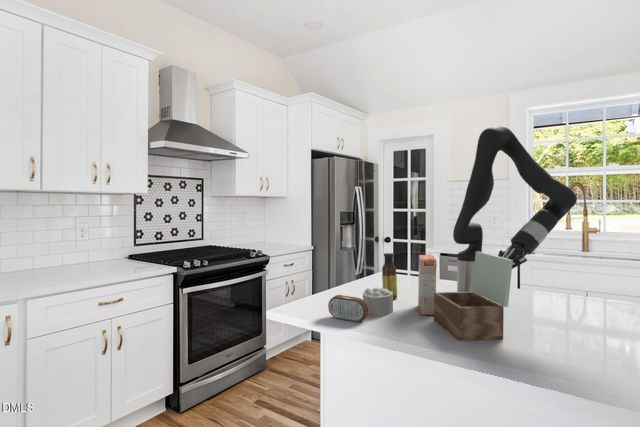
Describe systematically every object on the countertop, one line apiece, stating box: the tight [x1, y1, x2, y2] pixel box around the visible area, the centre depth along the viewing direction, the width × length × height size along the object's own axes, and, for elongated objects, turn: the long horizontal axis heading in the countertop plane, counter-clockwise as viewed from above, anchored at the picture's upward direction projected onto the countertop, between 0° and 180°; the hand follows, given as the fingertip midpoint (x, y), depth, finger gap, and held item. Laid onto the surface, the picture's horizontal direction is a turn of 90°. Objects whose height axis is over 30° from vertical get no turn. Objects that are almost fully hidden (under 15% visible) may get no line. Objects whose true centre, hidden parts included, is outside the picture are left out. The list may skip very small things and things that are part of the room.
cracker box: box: [417, 254, 437, 316], centre depth 149 cm, size 14×6×21 cm, turn 168°
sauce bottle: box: [381, 252, 398, 300], centre depth 168 cm, size 6×6×20 cm
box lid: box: [472, 251, 513, 308], centre depth 127 cm, size 14×21×2 cm
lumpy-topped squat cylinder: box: [362, 287, 394, 318], centre depth 148 cm, size 10×13×9 cm
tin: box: [327, 294, 368, 323], centre depth 138 cm, size 15×3×8 cm, turn 59°
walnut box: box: [433, 291, 505, 342], centre depth 127 cm, size 14×20×10 cm
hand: (494, 275), depth 127 cm, fingers closed
